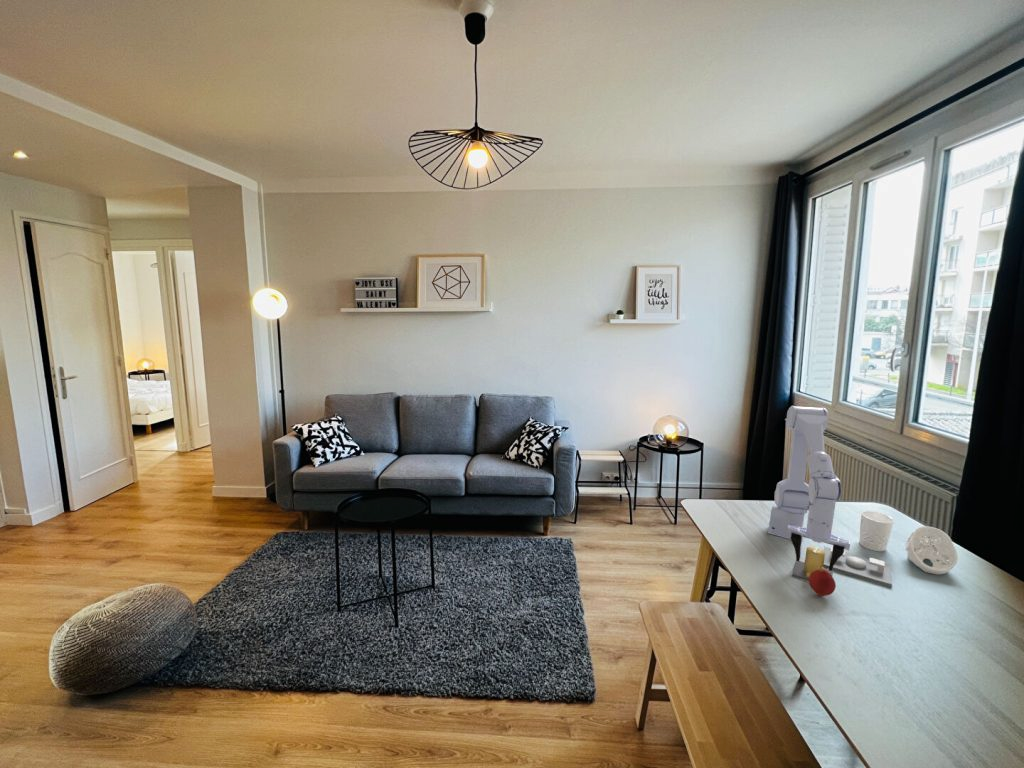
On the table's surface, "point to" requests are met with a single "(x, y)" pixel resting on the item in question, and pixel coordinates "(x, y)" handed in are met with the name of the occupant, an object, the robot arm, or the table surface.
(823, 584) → the onion
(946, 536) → the skull bowl
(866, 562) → the post base
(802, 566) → the mat
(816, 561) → the yellow rounded piece
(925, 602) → the table surface
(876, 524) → the white cup
